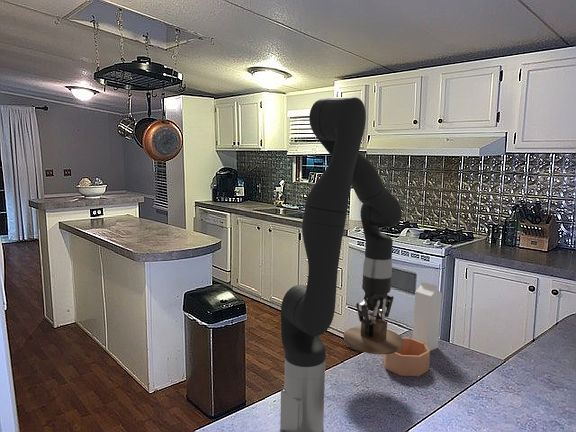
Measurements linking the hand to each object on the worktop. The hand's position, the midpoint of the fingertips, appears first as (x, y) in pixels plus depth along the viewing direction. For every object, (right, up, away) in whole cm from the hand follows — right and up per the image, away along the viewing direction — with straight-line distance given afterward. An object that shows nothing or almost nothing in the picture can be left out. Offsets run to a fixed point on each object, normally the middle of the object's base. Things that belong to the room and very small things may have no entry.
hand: (373, 334), depth 117 cm
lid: (0, -2, 0) cm, 2 cm away
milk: (+22, -11, +25) cm, 35 cm away
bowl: (+12, -13, +13) cm, 22 cm away
